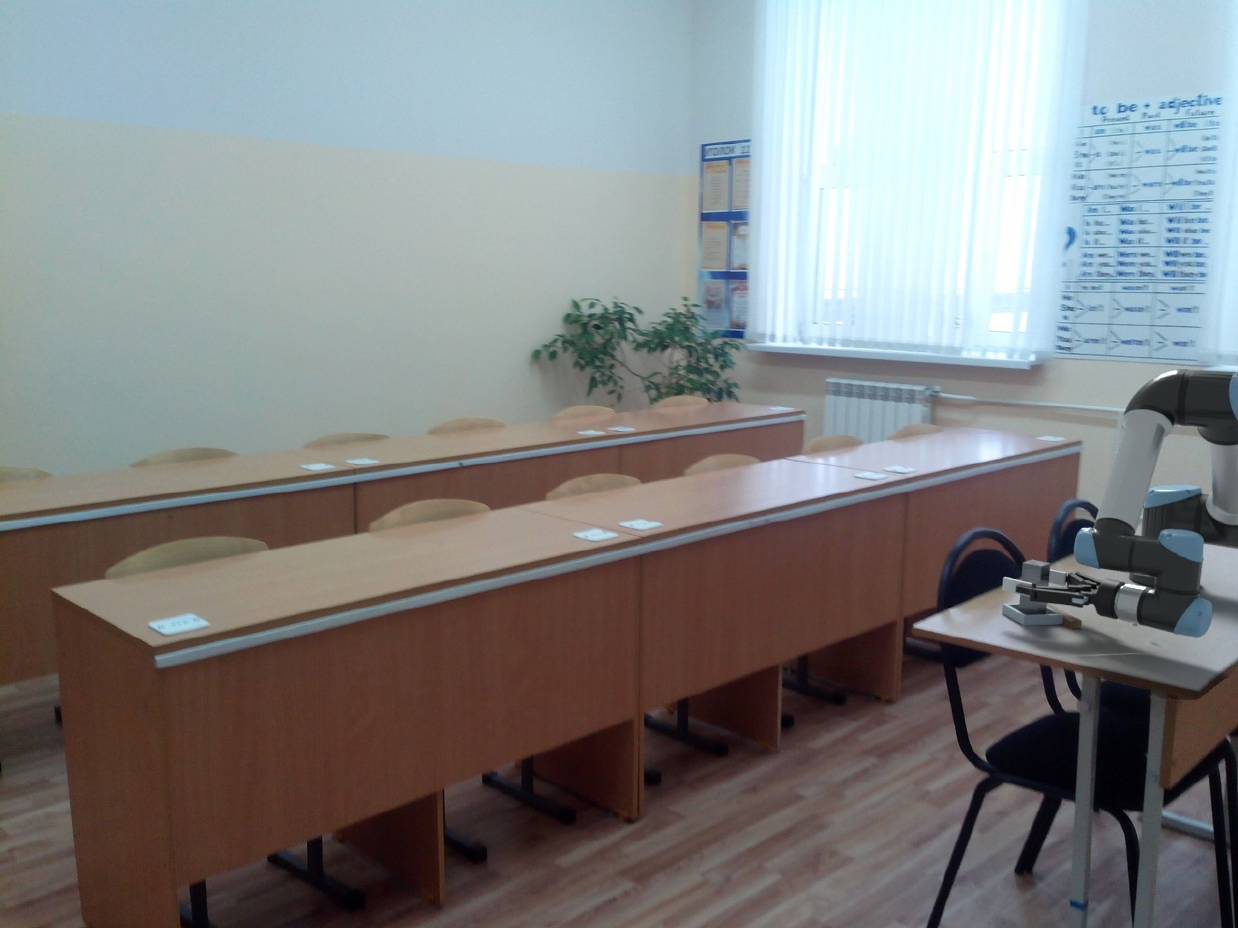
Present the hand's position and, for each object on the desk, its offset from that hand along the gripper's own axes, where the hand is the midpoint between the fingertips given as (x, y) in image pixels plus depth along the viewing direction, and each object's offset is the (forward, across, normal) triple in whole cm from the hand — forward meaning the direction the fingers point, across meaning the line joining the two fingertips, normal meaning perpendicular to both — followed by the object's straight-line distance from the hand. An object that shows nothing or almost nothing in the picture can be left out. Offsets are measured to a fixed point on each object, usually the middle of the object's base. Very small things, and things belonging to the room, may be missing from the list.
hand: (1019, 578), depth 221 cm
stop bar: (-3, 0, -8) cm, 9 cm away
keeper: (-3, 0, -8) cm, 9 cm away
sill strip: (-6, +5, -8) cm, 11 cm away
